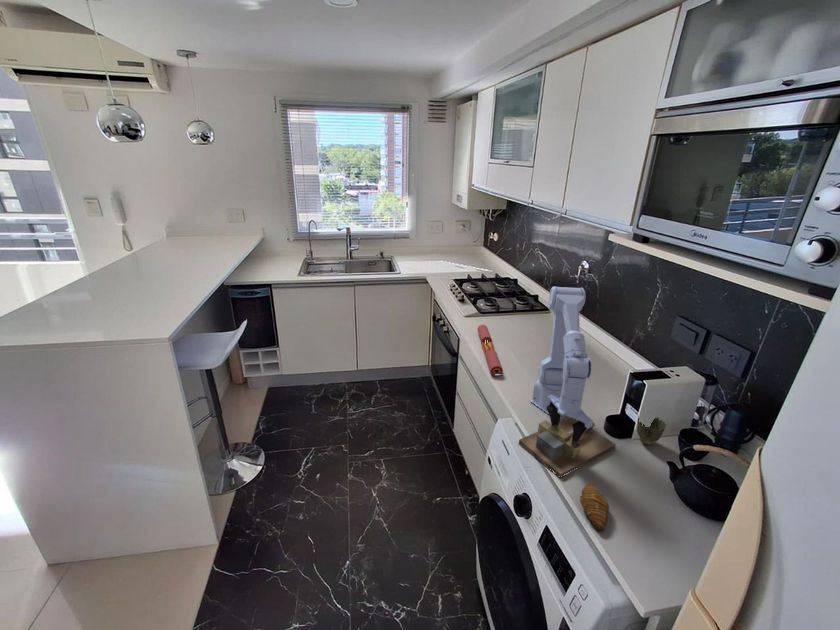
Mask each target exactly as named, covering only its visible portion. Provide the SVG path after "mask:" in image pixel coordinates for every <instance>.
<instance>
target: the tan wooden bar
mask: <svg viewBox="0 0 840 630" xmlns="http://www.w3.org/2000/svg"><path fill="white" fill-rule="evenodd" d="M546 431H548V432H549V433H551V434H552V435H553V436H555V437H556V438H557V439H559V440H560V441H561V442H563V443H564V448H563V452H566V453H567V454H568V455H569V456H571V457H572V458H573V457H575V456H576V455H578V454H580V449H581V445H580V444H578V443H577V442H576V441H573V440H572V439H571V435H570V434H568V433H567V432H566V431H564V430H563V429H561V428H560V427H559V426H557V425H554V426H552V425H551V423H550V422H549V421H548V420H544V421H541V422H539V423H538V428H537V432H539V433H543V432H546Z"/></svg>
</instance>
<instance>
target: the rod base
mask: <svg viewBox="0 0 840 630" xmlns="http://www.w3.org/2000/svg"><path fill="white" fill-rule="evenodd" d="M576 422H578V420H576V419H574V418H571V417H569V416H568V417H567V418H565V419H563V420H561V421H559V425H558V426H559V427H560V428H561V429H563V430H564V431H566V432H567V433H568V434H570V435H571V439H572V437H573V427H572V424H574V423H576ZM595 425H596V424H595V422H594V421H593V424H592V426H591V427H590V428H587V429H586V430H585V431H584V432H583V434H582V435H581V437H580V439H579V441H578V442H577V443H578V444H580V445H581V449H580V454H578V455H576V456H575V457H573V458H572V457H571V456H569V455H568V454H567V453H566V452H563V448H564V443H563V442H561V441H560V440H559V439H557V438H556V437H555V436H553V435H552V434H551V433H549V432H548V431H546V432H543V433H539V432H538V431H535V432H534V433H531V434H529V435H527V436H524V437H521V438H520V439H518V445H520V446H521V447H522V448H523V449H524V450H525V451H527V452H528V453H529V454H530V455H532V456H533V457H534V458H535V459H536V460H538V461H539V462H540V463H541V464H542V465H543V466H545V468H547V469H548V468H549V469H548V470H550V469H551V470H553V471H554V472H555V473H556V474H557V475H558V476H560V477H561V476H563V475H564V474H566V473H568V472H570V471H572V470H574V469H576V468H578V469H580V468H582V467H583V465H584V466H585V465H587V464H589V463H590V462H592V461H594V460H596V459H598V458H601V457H602V456H604V455H605V454H607V453H609V452H611V451H613V450H615V449H616V445H617V444H616V443H614V442H613V441H611V440H610V439H608V438H607V437H605V436H604V435H602V434H601V433H599V432H597V431H596V430H595V429H594V427H595ZM581 466H582V467H581ZM579 467H580V468H579ZM551 470H550V471H551ZM576 470H577V469H576ZM574 471H575V470H574ZM572 472H573V471H572ZM557 475H556V476H557ZM558 476H557V477H558ZM563 477H564V476H563ZM561 478H562V477H561Z"/></svg>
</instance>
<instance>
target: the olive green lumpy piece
mask: <svg viewBox="0 0 840 630" xmlns="http://www.w3.org/2000/svg"><path fill="white" fill-rule="evenodd" d="M666 426H667V424H666V423H665V421H663V419H660V418H659V416H658V417H655V419H654V420H653V422H652V423H651V426H650V427H645V425H644V424H643V426H642V423H641V422H639V418H638V417H637V424H636V433H637V435H638V437H639V440H640V442H641V443H642V444H643V445H646V446H651V445H653V444H654V443H655V442H657V441H659V440H660V438H661V437H662V435H663V433H664V432H665V430H666V428H667V427H666Z"/></svg>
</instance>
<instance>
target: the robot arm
mask: <svg viewBox="0 0 840 630" xmlns="http://www.w3.org/2000/svg"><path fill="white" fill-rule="evenodd" d="M548 295H549V297H548V310H551V311H552V312H553V320H552V331H551V339H550V348H549V356H548V357H547V358H545V359H542V360H541V361H540V363H539V368H538V374H537V378H538V379H537V380H536V381H535V383H534V385H533V390H532V398H531V400H530V401H531V402H532V403H531V402H530V401H529V402H530V403H531V404H533V402H534V404H535V405H534V404H533V405H534V406H536V407H537V406H538V407H539V409H540V410H541V409H542V412H544V411H545V412H544V413H545V414H547V415H548V416H549V417H550V418H549V419H550V422H551V423H550V424H551V425H552V426H554V425H557V426H558V425H559V422H560V420H561V416H567V417H568V418H569V417H571V418H574V419H576V420H578V422H576V423H574V424H572V427H573V437H572V440H573V441H576V442H578V441H579V439H580V437H581V435H582V434H583V432H584V431H585V430H586V429H587V428H590V427H591V426H592V424H593V422H594V420H593V419H591V417H589V416H588V414H586V412H584V411H583V410H582V408H581V407H582V401H583V396H584V391H585V386H586V381H587V379H589V378H590V377H591V374H592V360H591V358H590V356H589V353H588V352H587V348H586V338H585V336H584V334H582V333H581V332H580V329H581V328H580V312H581V311H582V310H583V307H584V305H585V303H586V290H585V289H584V287H565V286H563V287H561V286H552V287H551V288H550V291H549V294H548ZM538 407H537V408H538Z"/></svg>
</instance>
